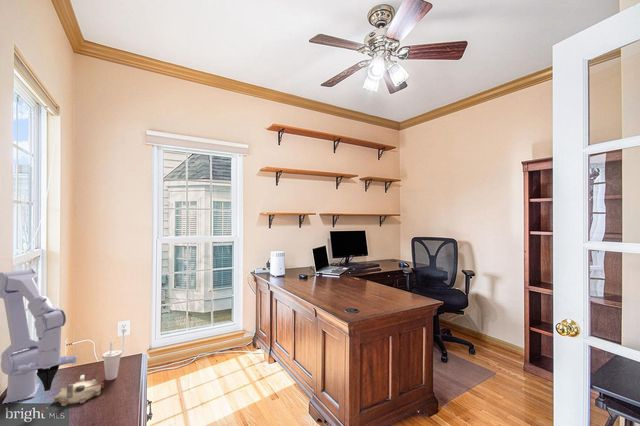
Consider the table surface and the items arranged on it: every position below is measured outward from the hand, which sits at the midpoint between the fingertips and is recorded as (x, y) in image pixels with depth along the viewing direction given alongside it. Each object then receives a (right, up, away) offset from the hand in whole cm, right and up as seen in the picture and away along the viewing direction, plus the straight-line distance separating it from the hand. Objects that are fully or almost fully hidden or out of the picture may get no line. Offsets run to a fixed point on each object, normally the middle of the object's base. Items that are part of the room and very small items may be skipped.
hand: (47, 389), depth 101 cm
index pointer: (0, -6, +15) cm, 16 cm away
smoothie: (+8, -7, +19) cm, 22 cm away
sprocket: (+5, -6, +8) cm, 11 cm away
